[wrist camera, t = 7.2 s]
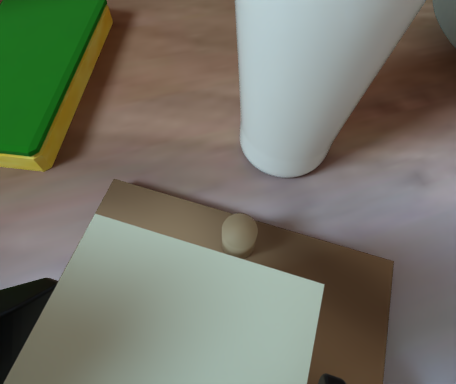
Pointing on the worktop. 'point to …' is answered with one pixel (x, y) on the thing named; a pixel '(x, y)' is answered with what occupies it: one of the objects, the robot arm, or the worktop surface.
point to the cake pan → (446, 18)
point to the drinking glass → (308, 72)
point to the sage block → (169, 316)
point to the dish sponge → (45, 73)
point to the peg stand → (287, 262)
